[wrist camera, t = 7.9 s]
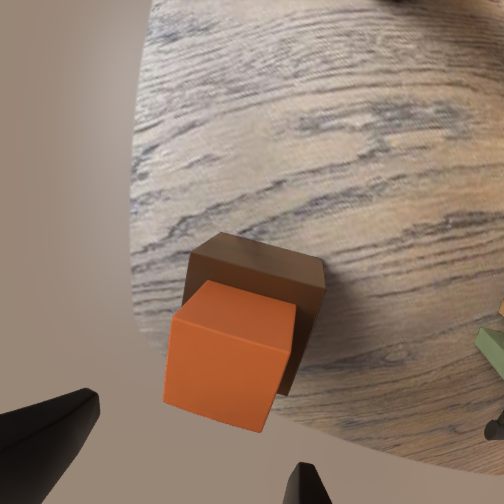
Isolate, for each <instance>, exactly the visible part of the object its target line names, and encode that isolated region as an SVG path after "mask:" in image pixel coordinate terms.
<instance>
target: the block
mask: <svg viewBox="0 0 504 504" xmlns="http://www.w3.org/2000/svg"><path fill="white" fill-rule="evenodd" d="M295 315H296V305H295V304H292V303H288V302H284V301H281V300H277V299H273V298H270V297H266V296H262V295H259V294H255V293H252V292H248V291H244V290H241V289H237V288H234V287H230V286H227V285H223V284H220V283H217V282H213V281H210V280H207V281H206V282H205V283H204V285H203V286H202V287H201V288H200V289H199V290H198V291H197V292H196V293H195V294H194V295H193V296H192V297H191V298H190V299H189V300H188V301H187V302H186V303H185V304H184V305H183V306H182V308H181V309H180V310H179V311H178V312H177V313H176V314H175V315H174V316H173V317H172V321H171V329H170V337H169V345H168V354H167V364H166V372H165V382H164V392H163V402H164V403H167V404H170V405H172V406H175V407H178V408H180V409H183V410H186V411H189V412H192V413H194V414H197V415H201V416H203V417H207V418H209V419H212V420H216V421H219V422H222V423H225V424H229V425H232V426H236V427H239V428H243V429H246V430H250V431H254V432H257V433H261V432H262V430H263V427H264V425H265V422H266V419H267V417H268V414H269V412H270V409H271V407H272V404H273V401H274V399H275V396H276V393H277V391H278V388H279V385H280V382H281V380H282V377H283V374H284V371H285V369H286V366H287V363H288V360H289V357H290V354H291V348H292V340H293V332H294V324H295Z"/></svg>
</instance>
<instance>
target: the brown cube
mask: <svg viewBox="0 0 504 504" xmlns="http://www.w3.org/2000/svg"><path fill="white" fill-rule="evenodd" d="M207 280H210V281H213V282H217V283H220V284H223V285H227V286H230V287H234V288H237V289H241V290H244V291H248V292H252V293H255V294H259V295H262V296H266V297H270V298H273V299H277V300H281V301H284V302H288V303H292V304H295V305H296V315H295V324H294V332H293V340H292V348H291V354H290V357H289V360H288V363H287V366H286V369H285V371H284V374H283V377H282V380H281V382H280V385H279V388H278V391H277V393H276V394H280V395H284V396H288V394H289V391H290V389H291V386H292V384H293V381H294V379H295V376H296V373H297V371H298V368H299V366H300V363H301V360H302V358H303V355H304V352H305V349H306V347H307V344H308V341H309V338H310V335H311V333H312V330H313V327H314V324H315V321H316V318H317V315H318V312H319V309H320V306H321V303H322V300H323V297H324V294H325V291H326V285H325V278H324V271H323V264H322V259H320V258H316V257H313V256H309V255H305V254H302V253H298V252H294V251H291V250H287V249H283V248H279V247H276V246H272V245H268V244H264V243H261V242H257V241H253V240H249V239H245V238H242V237H238V236H234V235H230V234H226V233H223V232H220V233H219V234H217V235H216V236H214V237H213V238H211V239H209V240H208V241H206V242H205V243H203V244H202V245H200V246H199V247H197V248H196V249H194V250H193V251H191V252H190V258H189V263H188V269H187V275H186V281H185V287H184V294H183V300H182V306H183V305H184V304H185V303H186V302H187V301H188V300H189V299H190V298H191V297H192V296H193V295H194V294H195V293H196V292H197V291H198V290H199V289H200V288H201V287H202V286H203V285H204V283H205V282H206V281H207ZM181 308H182V307H181Z"/></svg>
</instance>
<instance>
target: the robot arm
mask: <svg viewBox="0 0 504 504" xmlns="http://www.w3.org/2000/svg"><path fill="white" fill-rule="evenodd" d="M99 415H100V403H99V395H98V393H96V392H95V391H93V390H91V389H89V388H83V389H80V390H77V391H74V392H71V393H68V394H65V395H62V396H59V397H56V398H53V399H50V400H47V401H43V402H41V403H37V404H34V405H30V406H27V407H24V408H21V409H17V410H14V411H10V412H7V413H3V414H0V504H41V503H42V502H43V500H44V499H45V498H46V496H47V495H48V494H49V492H50V491H51V490H52V488H53V487H54V486H55V484H56V483H57V481H58V480H59V479H60V477H61V476H62V475H63V473H64V472H65V471H66V469H67V468H68V467H69V465H70V464H71V463H72V461H73V460H74V459H75V457H76V456H77V455H78V453H79V451H80V450H81V448H82V446H83V445H84V443H85V441H86V439H87V437H88V435H89V434H90V432H91V430H92V428H93V427H94V425H95V423H96V422H97V420H98V418H99ZM283 504H332V502H331V500H330V498H329V496H328V493H327V491H326V489H325V487H324V486H323V483H322V481H321V479H320V477H319V475H318V472H317V470H316V468H315V466H314V465H313V464H309V463H304V462H299V463H298V464H297V466H296V468H295V469H294V471H293V472H292V474H291V476H290V477H289V480H288V483H287V487H286V492H285V496H284V500H283Z"/></svg>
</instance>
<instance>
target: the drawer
mask: <svg viewBox="0 0 504 504" xmlns="http://www.w3.org/2000/svg"><path fill="white" fill-rule="evenodd" d="M499 313H500V314H501V315H502V316H503V317H504V299H503V302H502V304H501V307H500V309H499ZM474 344H475V345H476V346H477V347H478V349H479V350H480V351H481V352H482V354H483V355H484V356H485V357H486V358H487V360H488V361H489V362H490V363H491V365H492V366H493V367H494V369H495V370H496V371H497V372H498V374H499V375H500V376H501V378H502V379H503V380H504V333H503V332H499V331H494V330H490V329H486V328H480V330H479V333H478V335H477V337H476V339H475V341H474ZM484 435H485V438H486V439H487V440H504V410H503V412H502V413H501V415H500V416H499V418H498V419H497V420H491V421H490V422H489V423H488V424H487V425H486V428H485V431H484Z"/></svg>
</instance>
